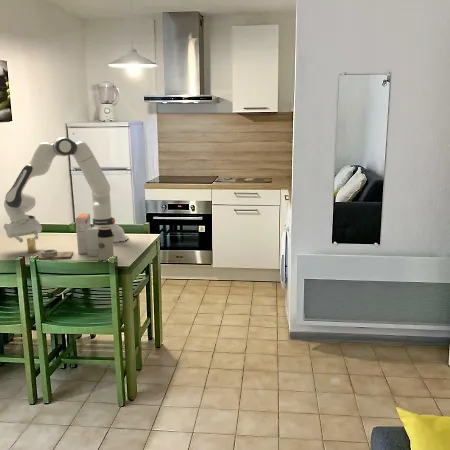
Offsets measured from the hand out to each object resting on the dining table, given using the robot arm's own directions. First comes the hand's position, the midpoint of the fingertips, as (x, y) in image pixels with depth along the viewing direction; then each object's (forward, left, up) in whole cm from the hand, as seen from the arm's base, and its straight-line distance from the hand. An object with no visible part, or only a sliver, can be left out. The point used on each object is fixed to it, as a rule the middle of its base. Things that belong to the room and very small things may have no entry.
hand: (29, 240), depth 298 cm
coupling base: (-15, +13, -7) cm, 21 cm away
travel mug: (-45, +23, -7) cm, 51 cm away
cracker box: (-31, +3, -7) cm, 32 cm away
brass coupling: (-1, +2, -7) cm, 7 cm away
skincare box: (-38, +12, -7) cm, 41 cm away
